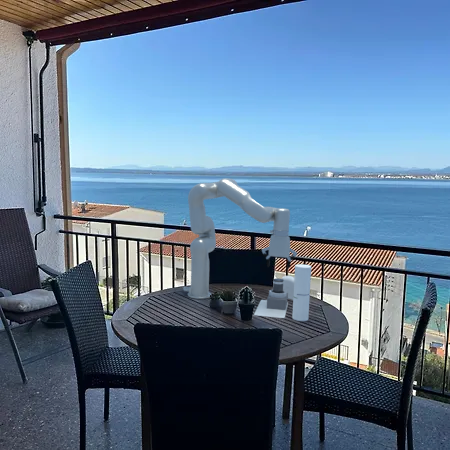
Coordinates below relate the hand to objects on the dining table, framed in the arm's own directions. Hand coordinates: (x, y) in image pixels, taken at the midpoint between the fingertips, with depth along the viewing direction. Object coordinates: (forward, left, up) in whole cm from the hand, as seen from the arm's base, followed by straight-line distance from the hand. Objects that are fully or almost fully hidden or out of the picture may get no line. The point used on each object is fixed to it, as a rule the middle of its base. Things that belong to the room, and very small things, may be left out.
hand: (278, 267), depth 209 cm
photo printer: (+6, +16, -20) cm, 26 cm away
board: (-1, -6, -20) cm, 21 cm away
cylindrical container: (+13, -17, -20) cm, 29 cm away
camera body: (+1, 0, -19) cm, 19 cm away
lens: (0, 0, -14) cm, 14 cm away
